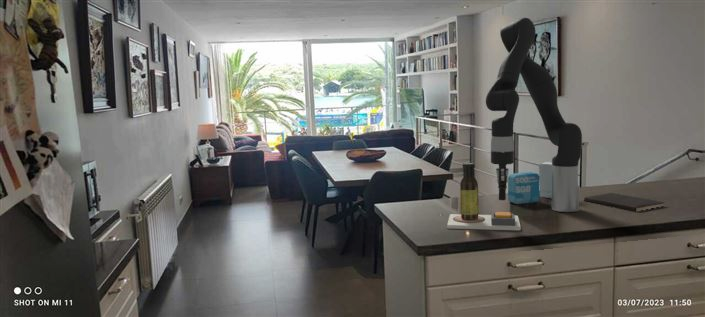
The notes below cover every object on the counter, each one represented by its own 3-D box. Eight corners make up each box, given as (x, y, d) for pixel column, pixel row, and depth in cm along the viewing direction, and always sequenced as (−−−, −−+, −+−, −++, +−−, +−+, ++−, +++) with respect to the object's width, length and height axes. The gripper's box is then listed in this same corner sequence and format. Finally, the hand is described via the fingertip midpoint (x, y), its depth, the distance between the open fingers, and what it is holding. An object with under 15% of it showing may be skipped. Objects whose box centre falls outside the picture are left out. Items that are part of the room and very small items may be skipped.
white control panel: (517, 218, 186) (517, 209, 186) (520, 230, 171) (520, 219, 170) (450, 217, 192) (450, 207, 192) (447, 228, 177) (447, 218, 176)
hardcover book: (611, 198, 217) (611, 192, 216) (664, 208, 196) (664, 202, 196) (583, 202, 210) (584, 197, 210) (635, 213, 189) (636, 207, 189)
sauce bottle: (481, 219, 181) (481, 163, 179) (465, 221, 180) (464, 165, 177) (473, 215, 187) (473, 161, 185) (457, 217, 186) (456, 162, 183)
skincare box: (564, 197, 219) (564, 162, 217) (555, 199, 215) (555, 164, 213) (547, 194, 226) (547, 161, 224) (538, 196, 222) (538, 162, 220)
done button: (510, 217, 178) (510, 212, 178) (510, 221, 174) (510, 215, 173) (495, 217, 180) (495, 211, 179) (495, 220, 175) (495, 215, 175)
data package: (514, 204, 209) (514, 175, 208) (507, 202, 213) (507, 173, 212) (539, 201, 212) (539, 173, 211) (532, 199, 217) (532, 171, 215)
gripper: (490, 147, 181) (490, 195, 183) (490, 151, 168) (491, 203, 170) (513, 147, 179) (512, 196, 181) (515, 151, 166) (514, 204, 169)
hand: (502, 199), depth 176 cm, fingers closed
